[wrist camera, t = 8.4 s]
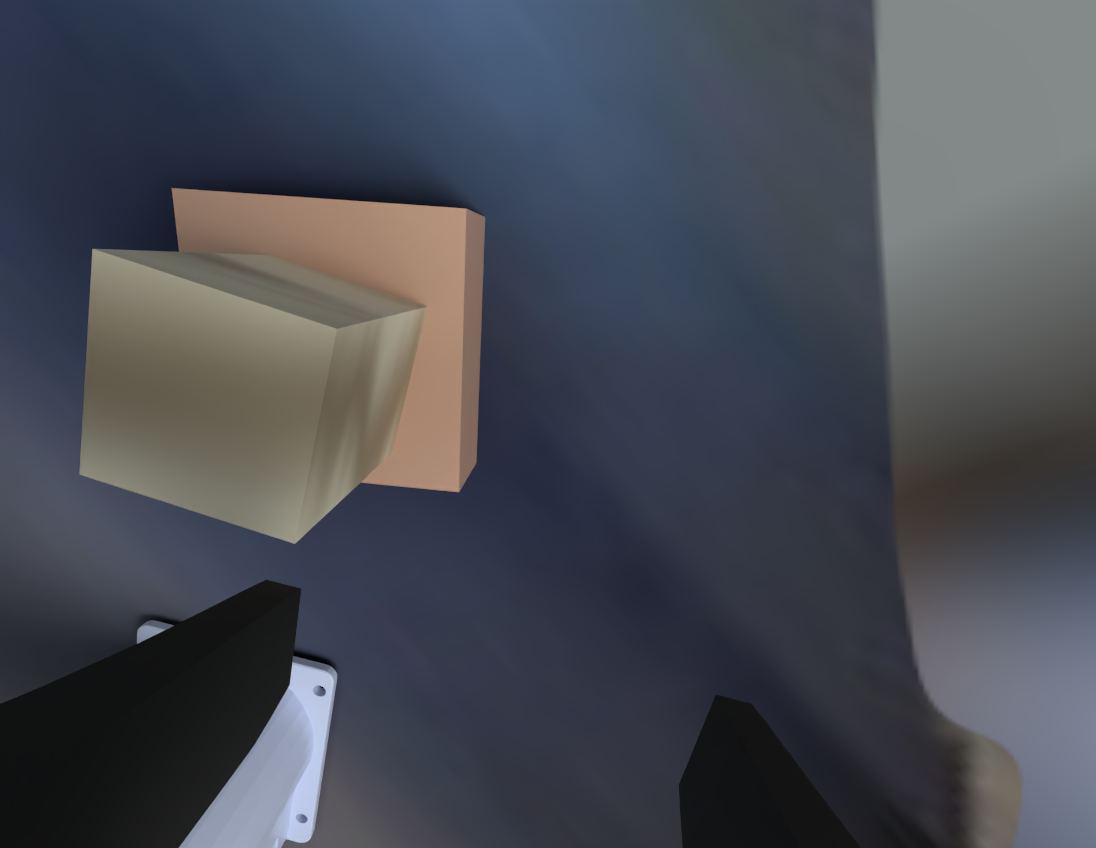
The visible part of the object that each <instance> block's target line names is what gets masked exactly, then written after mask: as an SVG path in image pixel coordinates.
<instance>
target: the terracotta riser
mask: <svg viewBox="0 0 1096 848" xmlns="http://www.w3.org/2000/svg"><path fill="white" fill-rule="evenodd" d="M172 195H173V204H174V212H175V221H176V229H177V238H178V246H179V252H198V253H226V254H254V255H272V256H275V257H278V258H281V259H284V260H287V261H290V262H293V263H296V264H299V265H302V266H305V267H308V268H311V269H314V270H317V271H320V272H323V273H326V274H329V275H333V276H336V277H339V278H342V279H345V280H348V281H351V282H354V283H357V284H360V285H363V286H366V287H369V288H372V289H375V290H378V291H381V292H384V293H387V294H390V295H393V296H396V297H399V298H402V299H405V300H408V301H412V302H415V303H418V304H421V305H424V306H427V311H426V315H425V319H424V323H423V328H422V332H421V336H420V340H419V344H418V348H417V352H416V356H415V360H414V364H413V369H412V373H411V377H410V381H409V385H408V389H407V393H406V397H405V401H404V406H403V410H402V414H401V418H400V422H399V426H398V430H397V434H396V438H395V442H394V447H393V451H392V454H391V455H390V456H388V457H387V458H386V459H385V460H384V461H383V462H382V463H381V464H380V465H379V466H378V467H377V468H376V469H374V470H373V471H372V472H371V473H370V474H369V475H368V476H367V477H366V478H365V479H364V480H363V481H362V482H361V483H371V484H381V485H392V486H402V487H412V488H422V489H432V490H442V491H452V492H459V491H460V490H461V488H462V486H463V484H464V483H465V481H466V479H467V478H468V476H469V474H470V473H471V471H472V469H473V467H474V466H475V464H476V458H477V430H478V402H479V374H480V346H481V317H482V289H483V261H484V233H485V217H484V216H482V215H479V214H477V213H475V212H473V211H471V210H469V209H466V208H451V207H437V206H422V205H408V204H394V203H379V202H365V201H350V200H336V199H322V198H307V197H293V196H278V195H264V194H250V193H235V192H221V191H206V190H192V189H178V188H172Z"/></svg>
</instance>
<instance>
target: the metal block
mask: <svg viewBox="0 0 1096 848" xmlns="http://www.w3.org/2000/svg"><path fill="white" fill-rule="evenodd" d="M426 311H427V306H424V305H421V304H418V303H415V302H412V301H408V300H405V299H402V298H399V297H396V296H393V295H390V294H387V293H384V292H381V291H378V290H375V289H372V288H369V287H366V286H363V285H360V284H357V283H354V282H351V281H348V280H345V279H342V278H339V277H336V276H333V275H329V274H326V273H323V272H320V271H317V270H314V269H311V268H308V267H305V266H302V265H299V264H296V263H293V262H290V261H287V260H284V259H281V258H278V257H275V256H272V255H254V254H226V253H198V252H170V251H142V250H114V249H92V267H91V284H90V301H89V319H88V336H87V353H86V370H85V388H84V405H83V422H82V440H81V457H80V475H83V476H86V477H89V478H92V479H95V480H98V481H101V482H105V483H108V484H111V485H114V486H117V487H120V488H123V489H126V490H129V491H133V492H136V493H139V494H142V495H145V496H148V497H151V498H154V499H157V500H160V501H164V502H167V503H170V504H173V505H176V506H179V507H182V508H185V509H188V510H191V511H195V512H198V513H201V514H204V515H207V516H210V517H213V518H216V519H219V520H223V521H226V522H229V523H232V524H235V525H238V526H241V527H244V528H247V529H250V530H254V531H257V532H260V533H263V534H266V535H269V536H272V537H275V538H278V539H282V540H285V541H288V542H291V543H294V544H295V543H296V542H297V541H298V540H299V539H301V538H302V537H303V536H304V535H305V534H306V533H307V532H308V531H309V530H310V529H311V528H312V527H313V526H314V525H316V524H317V523H318V522H319V521H320V520H321V519H322V518H323V517H324V516H325V515H326V514H327V513H328V512H329V511H331V510H332V509H333V508H334V507H335V506H336V505H337V504H338V503H339V502H340V501H341V500H342V499H343V498H344V497H346V496H347V495H348V494H349V493H350V492H351V491H352V490H353V489H354V488H355V487H356V486H357V485H358V484H359V483H361V482H362V481H363V480H364V479H365V478H366V477H367V476H368V475H369V474H370V473H371V472H372V471H373V470H374V469H376V468H377V467H378V466H379V465H380V464H381V463H382V462H383V461H384V460H385V459H386V458H387V457H388V456H390V455H391V454H392V451H393V447H394V442H395V438H396V434H397V430H398V426H399V422H400V418H401V414H402V410H403V406H404V401H405V397H406V393H407V389H408V385H409V381H410V377H411V373H412V369H413V364H414V360H415V356H416V352H417V348H418V344H419V340H420V336H421V332H422V328H423V323H424V319H425V315H426Z"/></svg>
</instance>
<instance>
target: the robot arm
mask: <svg viewBox="0 0 1096 848" xmlns="http://www.w3.org/2000/svg"><path fill="white" fill-rule="evenodd" d="M300 594H301V589H300V588H296V587H292V586H288V585H285V584H281V583H277V582H273V581H269V580H265V581H263V582H261V583H259V584H257V585H254V586H252V587H250V588H248V589H246V590H244V591H242V592H240V593H238V594H236V595H234V596H232V597H230V598H228V599H226V600H224V601H222V602H220V603H218V604H216V605H215V606H213V607H211V608H209V609H207V610H205V611H203V612H201V613H199V614H197V615H195V616H193V617H191V618H189V619H187V620H185V621H183V622H181V623H179V624H177V625H171V624H167V623H163V622H159V621H154V620H150V621H147V622H145V623H144V624H143V625H142V626H141V627H140V628H139V629H138V631H137V644H136V645H134V646H132V647H129V648H127V649H125V650H123V651H121V652H118V653H116V654H114V655H112V656H110V657H107V658H105V659H103V660H101V661H98V662H96V663H94V664H92V665H89V666H87V667H85V668H83V669H81V670H78V671H76V672H74V673H72V674H69V675H67V676H65V677H63V678H60V679H58V680H56V681H54V682H52V683H49V684H47V685H45V686H43V687H40V688H38V689H36V690H33V691H31V692H28V693H26V694H24V695H21V696H19V697H16V698H14V699H11V700H9V701H7V702H4V703H2V704H0V848H281V847H282V845H283V843H284V841H285V839H288V840H292V841H295V842H301V843H303V842H307V841H308V840H310V838H311V836H312V834H313V832H314V829H315V823H316V816H317V809H318V803H319V796H320V789H321V783H322V776H323V769H324V763H325V756H326V749H327V742H328V736H329V729H330V722H331V716H332V709H333V702H334V696H335V689H336V682H337V673H336V671H335V670H334V669H333V668H332V667H331V666H329V665H326V664H323V663H319V662H315V661H311V660H307V659H303V658H299V657H295V656H293V653H294V645H295V636H296V628H297V619H298V611H299V602H300ZM320 686H322V687H324V689H323V688H321V687H320ZM679 795H680V814H681V830H682V843H683V848H861V847H860V846H859V845H858V843H857V842H856V841H855V840H854V838H853V837H852V836H851V834H850V833H849V832H848V831H847V829H846V828H845V827H844V825H843V824H842V823H841V821H840V820H839V819H838V818H837V816H836V815H835V814H834V812H833V811H832V810H831V808H830V807H829V806H828V805H827V803H826V802H825V801H824V799H823V798H822V797H821V795H820V794H819V793H818V791H817V790H816V789H815V787H814V786H813V785H812V783H811V782H810V781H809V779H808V778H807V777H806V775H805V774H804V773H803V771H802V770H801V768H800V767H799V766H798V764H797V763H796V762H795V760H794V759H793V758H792V756H791V755H790V754H789V752H788V751H787V750H786V748H785V747H784V746H783V744H782V743H781V742H780V740H779V739H778V738H777V736H776V735H775V734H774V732H773V731H772V730H771V728H770V727H769V726H768V724H767V723H766V722H765V720H764V719H763V718H762V716H761V715H760V714H759V713H758V711H757V710H756V709H755V708H754V706H753V705H752V704H750V703H746V702H742V701H738V700H735V699H731V698H727V697H723V696H719V695H716V696H715V698H714V701H713V703H712V706H711V708H710V711H709V713H708V715H707V718H706V720H705V723H704V725H703V728H702V730H701V732H700V735H699V737H698V740H697V742H696V745H695V747H694V750H693V752H692V754H691V757H690V759H689V762H688V764H687V767H686V769H685V771H684V774H683V776H682V779H681V781H680V784H679Z"/></svg>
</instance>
